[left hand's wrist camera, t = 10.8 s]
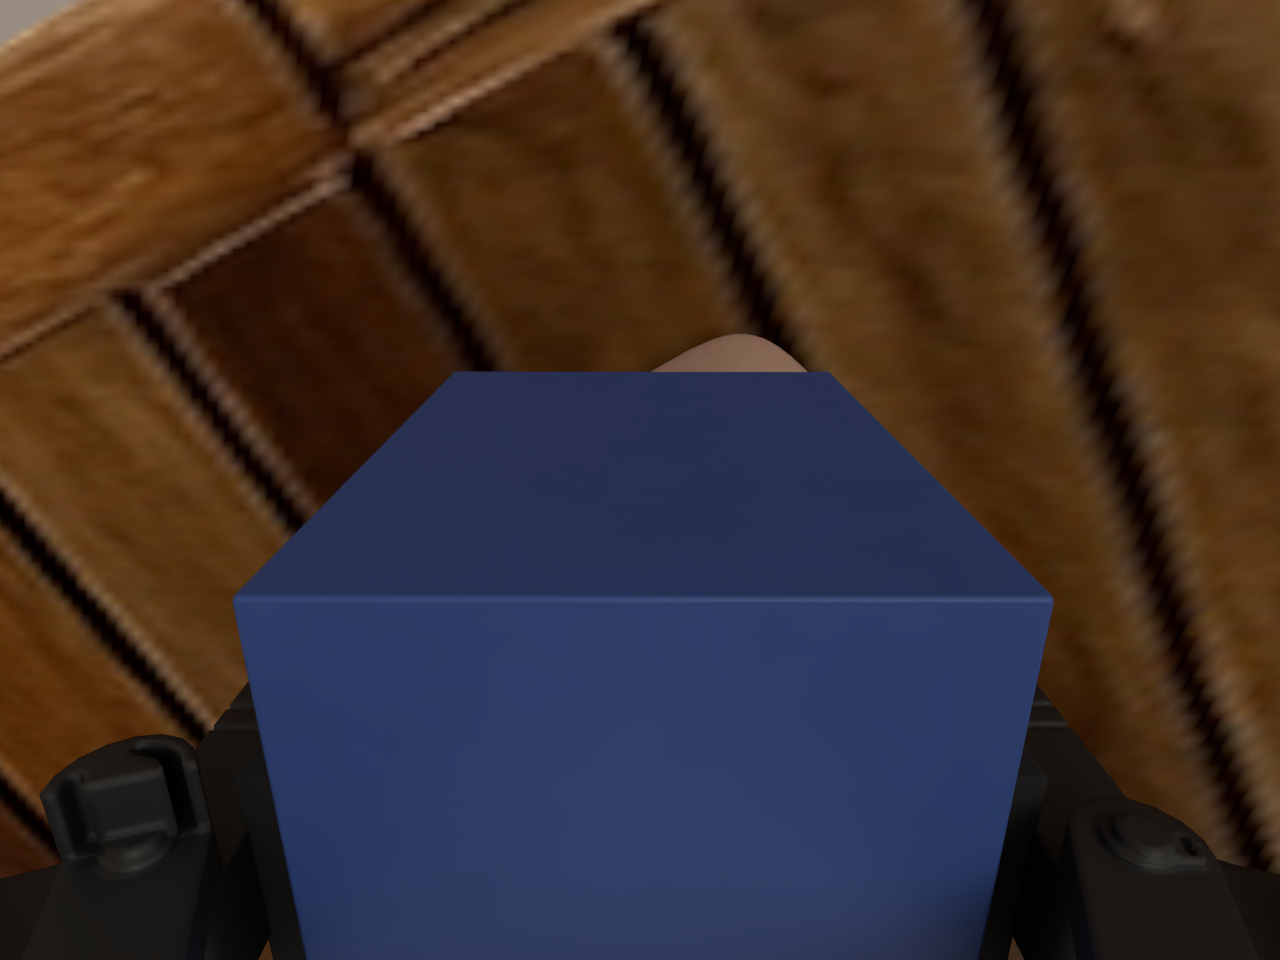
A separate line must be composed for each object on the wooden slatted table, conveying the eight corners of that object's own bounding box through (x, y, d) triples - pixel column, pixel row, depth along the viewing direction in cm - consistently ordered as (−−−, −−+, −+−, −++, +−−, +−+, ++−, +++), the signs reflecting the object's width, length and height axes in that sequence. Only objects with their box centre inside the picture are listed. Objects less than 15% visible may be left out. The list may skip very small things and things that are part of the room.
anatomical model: (681, 294, 20) (1027, 525, 22) (675, 277, 23) (971, 475, 26) (432, 674, 24) (746, 839, 26) (461, 608, 27) (733, 756, 29)
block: (453, 370, 14) (227, 597, 6) (830, 371, 14) (1057, 597, 6) (482, 719, 16) (348, 1176, 9) (800, 719, 16) (936, 1177, 9)
